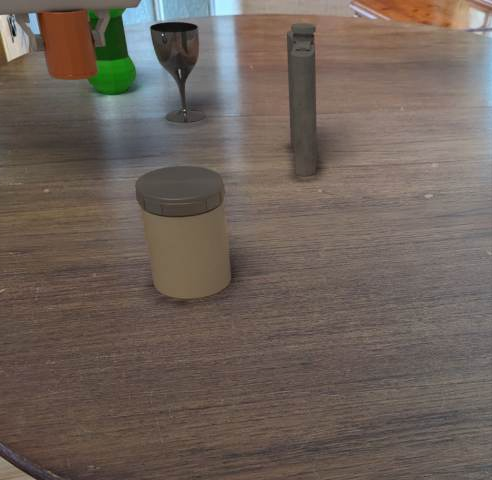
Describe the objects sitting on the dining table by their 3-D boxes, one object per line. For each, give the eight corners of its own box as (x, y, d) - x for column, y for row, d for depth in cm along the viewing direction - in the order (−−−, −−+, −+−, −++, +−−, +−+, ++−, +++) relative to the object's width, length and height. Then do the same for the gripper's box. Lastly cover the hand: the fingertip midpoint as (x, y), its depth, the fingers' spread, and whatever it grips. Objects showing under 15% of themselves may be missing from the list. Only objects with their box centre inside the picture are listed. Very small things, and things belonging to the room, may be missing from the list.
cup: (55, 82, 94) (41, 14, 89) (44, 69, 98) (30, 4, 93) (104, 77, 97) (92, 11, 92) (91, 65, 101) (80, 2, 96)
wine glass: (154, 119, 130) (140, 29, 121) (177, 107, 136) (165, 20, 127) (194, 125, 128) (183, 34, 119) (215, 112, 134) (206, 24, 125)
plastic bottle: (76, 88, 143) (46, -58, 128) (126, 79, 149) (103, -61, 134) (98, 101, 137) (69, -51, 122) (150, 92, 143) (128, -54, 128)
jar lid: (154, 223, 74) (151, 205, 73) (127, 190, 81) (124, 174, 79) (237, 205, 79) (236, 189, 77) (206, 176, 85) (204, 160, 84)
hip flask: (290, 140, 124) (285, 12, 112) (314, 140, 125) (311, 13, 113) (295, 176, 112) (290, 37, 100) (321, 176, 112) (319, 37, 100)
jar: (168, 306, 81) (152, 210, 74) (143, 271, 87) (126, 179, 80) (243, 287, 85) (235, 194, 78) (214, 255, 91) (204, 166, 84)
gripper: (124, -78, 94) (140, 37, 102) (-53, -78, 84) (-19, 48, 93) (139, -72, 90) (154, 47, 98) (-45, -71, 80) (-11, 61, 89)
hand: (68, 48), depth 95 cm, fingers closed on cup, 6 cm apart
